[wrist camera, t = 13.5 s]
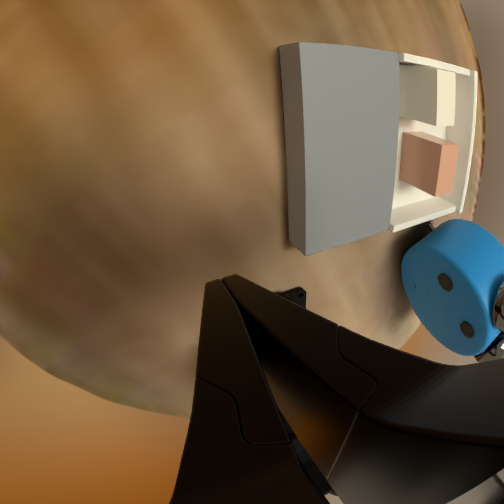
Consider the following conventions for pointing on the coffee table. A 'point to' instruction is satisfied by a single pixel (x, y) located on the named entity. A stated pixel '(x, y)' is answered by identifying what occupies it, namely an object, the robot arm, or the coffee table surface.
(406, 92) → the cream block
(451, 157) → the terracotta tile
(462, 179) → the tray
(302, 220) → the slate plate
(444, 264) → the alarm clock
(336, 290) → the coffee table surface
